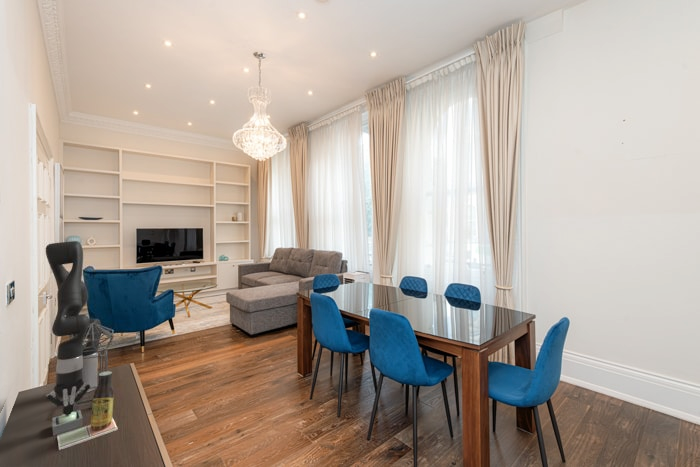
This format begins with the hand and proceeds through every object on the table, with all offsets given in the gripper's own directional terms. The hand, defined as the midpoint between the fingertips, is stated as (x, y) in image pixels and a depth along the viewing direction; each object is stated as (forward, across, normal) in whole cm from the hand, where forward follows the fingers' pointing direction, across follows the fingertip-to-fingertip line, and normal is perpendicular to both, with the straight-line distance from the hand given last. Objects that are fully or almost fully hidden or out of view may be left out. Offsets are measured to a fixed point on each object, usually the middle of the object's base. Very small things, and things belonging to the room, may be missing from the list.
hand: (68, 414), depth 117 cm
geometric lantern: (+5, +8, +15) cm, 18 cm away
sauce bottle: (+4, +9, -11) cm, 15 cm away
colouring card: (+5, +5, -11) cm, 13 cm away
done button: (+5, 0, 0) cm, 5 cm away
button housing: (+5, 0, 0) cm, 5 cm away
